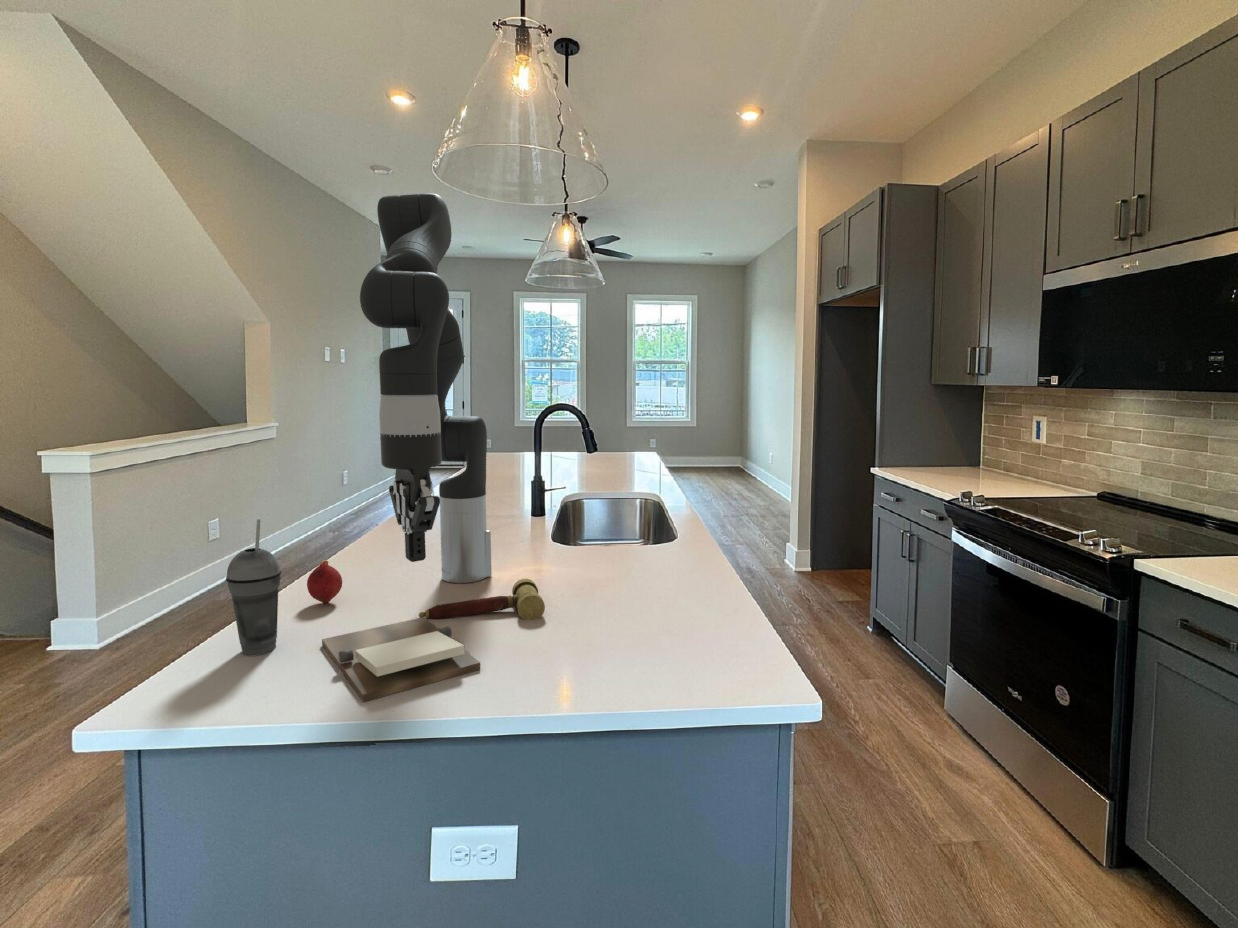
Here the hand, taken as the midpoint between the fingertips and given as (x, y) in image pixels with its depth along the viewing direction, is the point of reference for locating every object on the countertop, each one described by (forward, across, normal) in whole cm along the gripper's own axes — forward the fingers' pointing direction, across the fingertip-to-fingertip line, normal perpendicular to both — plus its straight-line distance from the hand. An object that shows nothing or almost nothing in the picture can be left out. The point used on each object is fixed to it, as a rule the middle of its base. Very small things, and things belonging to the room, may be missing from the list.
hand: (415, 559), depth 87 cm
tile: (+14, +4, 0) cm, 14 cm away
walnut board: (+17, +9, 0) cm, 19 cm away
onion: (+17, +40, +3) cm, 44 cm away
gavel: (+18, +18, -18) cm, 31 cm away
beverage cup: (+17, +24, +16) cm, 34 cm away
